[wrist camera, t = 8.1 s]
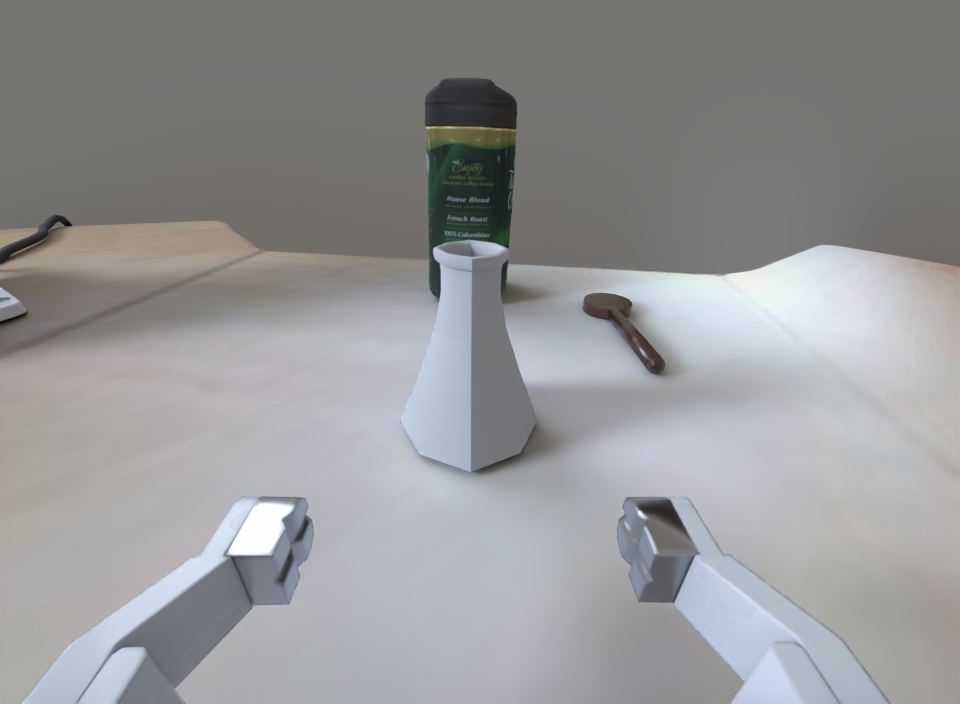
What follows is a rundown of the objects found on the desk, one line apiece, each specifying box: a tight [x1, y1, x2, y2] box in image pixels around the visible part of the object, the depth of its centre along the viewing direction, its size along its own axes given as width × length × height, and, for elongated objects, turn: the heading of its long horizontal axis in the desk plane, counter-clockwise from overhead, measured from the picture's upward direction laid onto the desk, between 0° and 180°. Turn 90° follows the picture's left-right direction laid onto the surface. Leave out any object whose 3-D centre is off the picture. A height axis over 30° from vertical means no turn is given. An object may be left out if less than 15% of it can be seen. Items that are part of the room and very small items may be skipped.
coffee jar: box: [425, 78, 517, 297], centre depth 38 cm, size 10×8×19 cm
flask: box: [401, 240, 537, 472], centre depth 20 cm, size 7×7×10 cm
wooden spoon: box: [583, 293, 665, 373], centre depth 34 cm, size 14×4×1 cm, turn 1°
